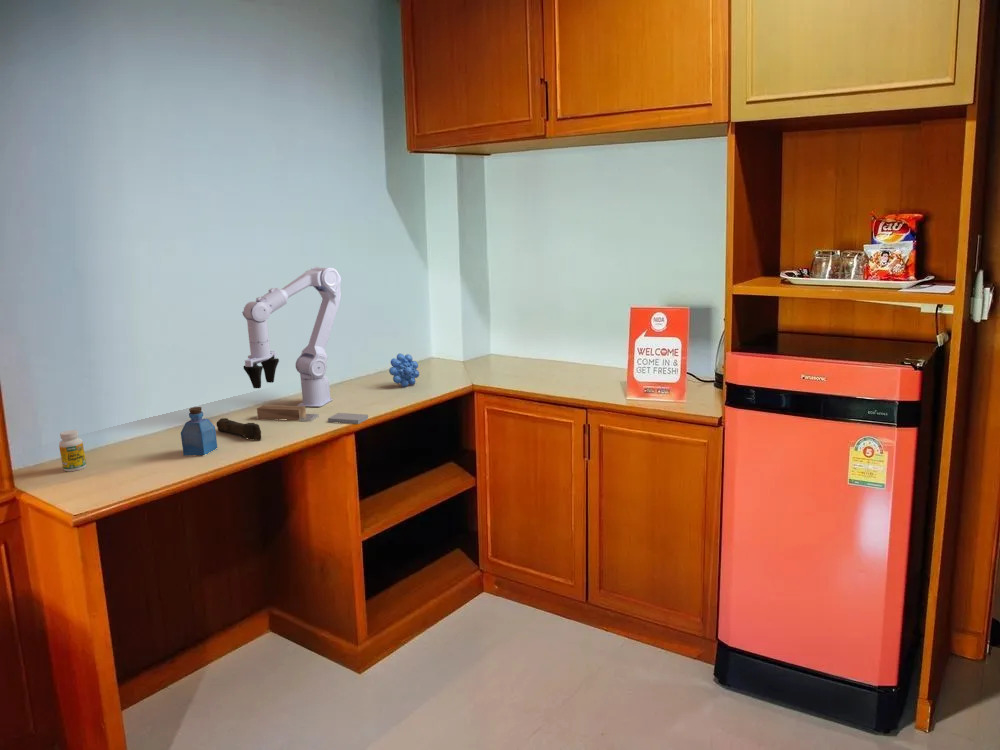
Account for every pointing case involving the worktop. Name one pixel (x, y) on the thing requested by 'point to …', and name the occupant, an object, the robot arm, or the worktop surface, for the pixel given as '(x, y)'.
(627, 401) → the worktop surface
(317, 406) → the robot arm
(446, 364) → the worktop surface
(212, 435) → the perfume bottle
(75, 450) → the supplement bottle
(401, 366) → the grapes
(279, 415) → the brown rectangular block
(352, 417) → the tile
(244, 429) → the hand tool
